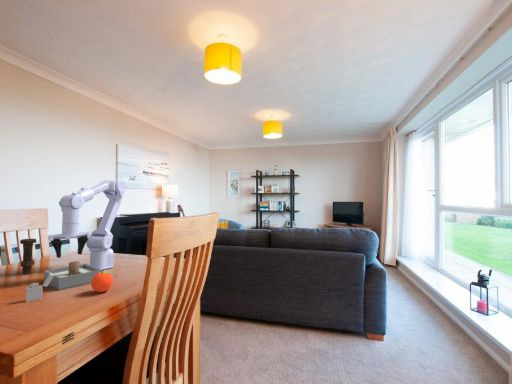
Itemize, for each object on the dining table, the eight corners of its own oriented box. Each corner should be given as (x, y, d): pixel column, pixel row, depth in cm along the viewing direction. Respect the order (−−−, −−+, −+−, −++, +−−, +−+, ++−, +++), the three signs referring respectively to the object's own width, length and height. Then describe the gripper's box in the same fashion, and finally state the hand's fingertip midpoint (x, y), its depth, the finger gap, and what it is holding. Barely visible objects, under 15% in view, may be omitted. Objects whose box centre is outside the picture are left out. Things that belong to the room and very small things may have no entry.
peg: (75, 278, 107) (76, 261, 108) (80, 279, 106) (81, 261, 106) (66, 280, 104) (66, 262, 104) (71, 281, 103) (72, 263, 103)
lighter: (25, 302, 84) (26, 277, 84) (25, 300, 85) (26, 275, 85) (53, 297, 88) (54, 273, 88) (53, 295, 90) (54, 272, 90)
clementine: (111, 286, 100) (111, 267, 100) (119, 290, 95) (119, 271, 96) (87, 291, 94) (88, 272, 94) (94, 296, 89) (95, 275, 89)
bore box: (85, 273, 116) (86, 263, 116) (102, 280, 106) (102, 269, 107) (43, 282, 104) (44, 270, 104) (58, 290, 94) (59, 278, 94)
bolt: (24, 275, 111) (25, 240, 112) (15, 274, 112) (16, 240, 113) (38, 272, 117) (39, 238, 118) (29, 271, 118) (30, 238, 119)
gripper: (85, 221, 118) (84, 251, 118) (45, 223, 106) (44, 257, 106) (92, 222, 114) (91, 253, 114) (52, 225, 102) (51, 260, 102)
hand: (69, 255), depth 109 cm, fingers open, 7 cm apart
